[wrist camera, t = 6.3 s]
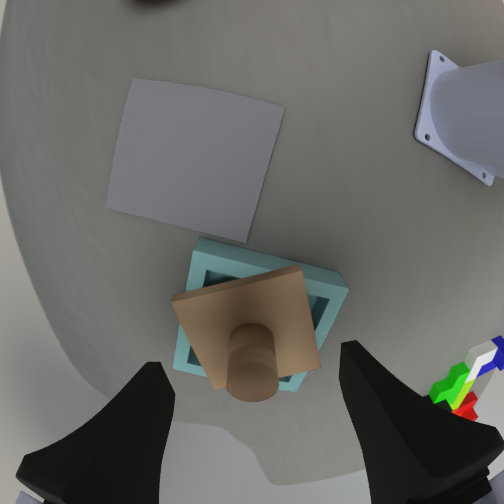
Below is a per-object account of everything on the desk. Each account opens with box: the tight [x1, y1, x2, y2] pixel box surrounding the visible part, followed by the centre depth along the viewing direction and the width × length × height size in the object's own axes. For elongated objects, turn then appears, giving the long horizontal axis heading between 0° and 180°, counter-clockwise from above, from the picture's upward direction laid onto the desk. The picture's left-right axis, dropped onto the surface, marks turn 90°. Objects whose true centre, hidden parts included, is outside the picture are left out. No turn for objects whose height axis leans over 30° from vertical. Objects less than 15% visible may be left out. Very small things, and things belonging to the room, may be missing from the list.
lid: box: [170, 264, 321, 402], centre depth 16 cm, size 8×8×5 cm
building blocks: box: [424, 336, 504, 421], centre depth 25 cm, size 15×13×4 cm
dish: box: [173, 237, 349, 392], centre depth 20 cm, size 10×10×2 cm
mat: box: [106, 78, 285, 243], centre depth 16 cm, size 10×9×1 cm
